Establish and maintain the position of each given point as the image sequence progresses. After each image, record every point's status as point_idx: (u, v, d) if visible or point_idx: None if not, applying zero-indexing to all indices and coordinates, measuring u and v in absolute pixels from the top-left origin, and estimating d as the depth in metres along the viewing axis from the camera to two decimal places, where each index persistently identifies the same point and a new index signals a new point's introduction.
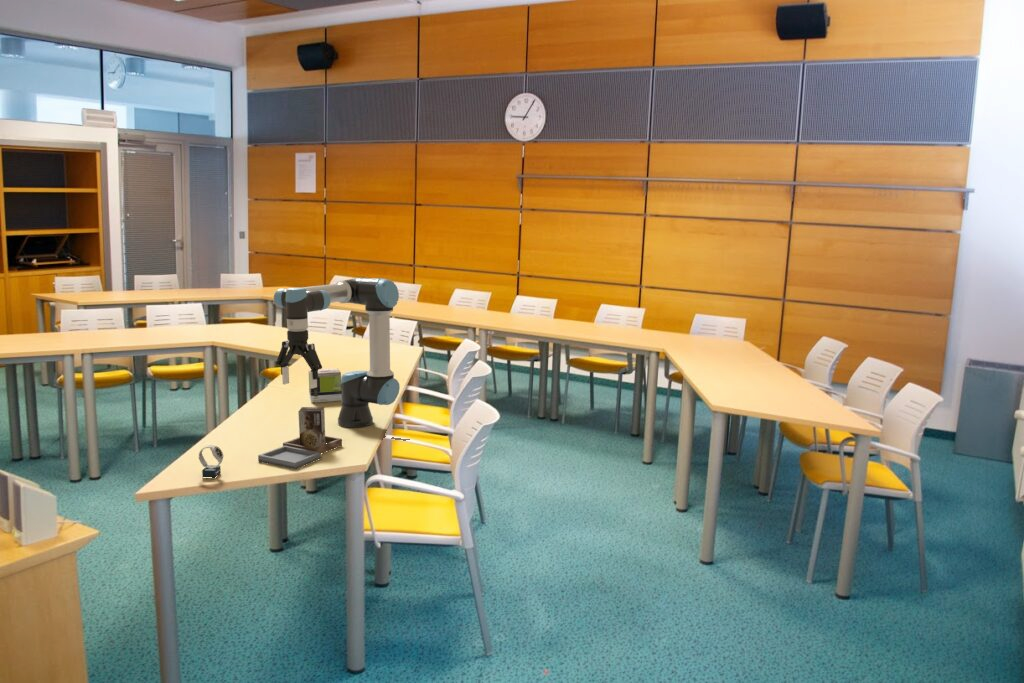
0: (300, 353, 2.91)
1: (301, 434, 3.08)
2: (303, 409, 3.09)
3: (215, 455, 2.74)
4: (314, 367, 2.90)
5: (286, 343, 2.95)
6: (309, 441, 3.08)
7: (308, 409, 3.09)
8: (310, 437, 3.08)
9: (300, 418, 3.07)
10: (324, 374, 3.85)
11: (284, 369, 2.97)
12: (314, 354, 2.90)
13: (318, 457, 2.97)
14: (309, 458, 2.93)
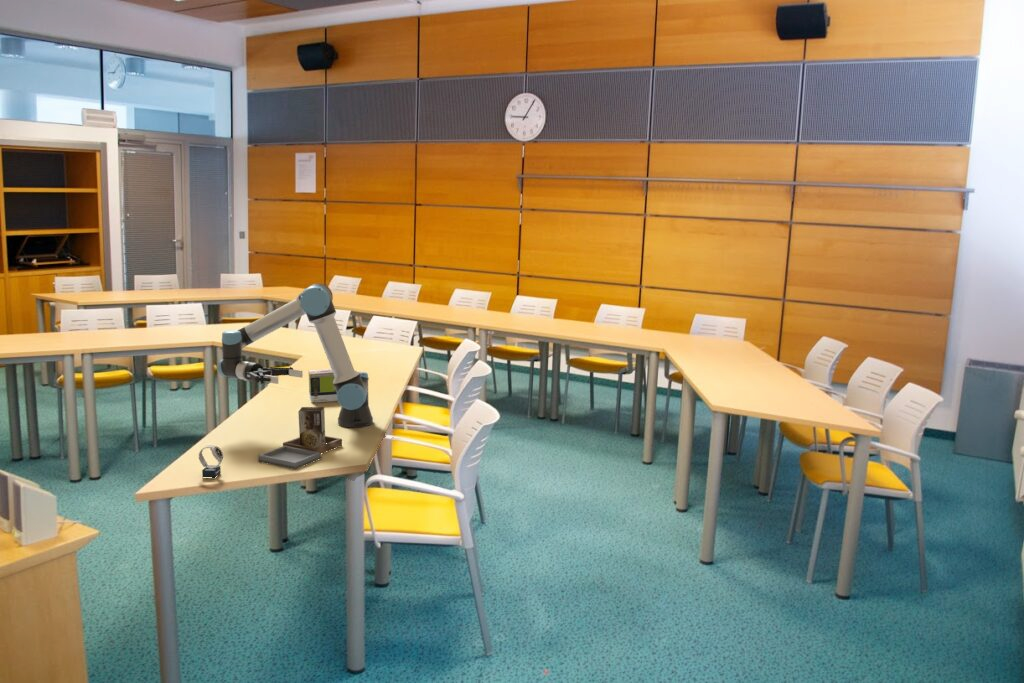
0: None
1: (301, 434, 3.08)
2: (303, 409, 3.09)
3: (215, 455, 2.74)
4: None
5: None
6: (309, 441, 3.08)
7: (308, 409, 3.09)
8: (310, 437, 3.08)
9: (300, 418, 3.07)
10: (324, 374, 3.85)
11: (290, 374, 3.21)
12: (251, 377, 3.11)
13: (318, 457, 2.97)
14: (309, 458, 2.93)
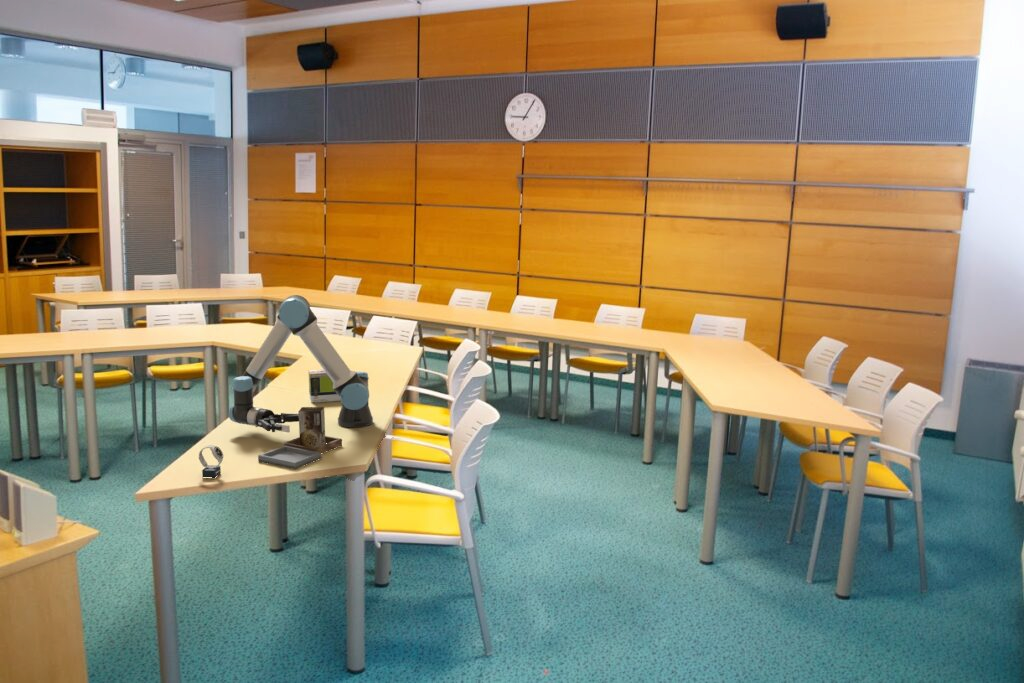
0: None
1: (301, 434, 3.08)
2: (303, 409, 3.09)
3: (215, 455, 2.74)
4: (271, 428, 3.09)
5: None
6: (309, 441, 3.08)
7: (308, 409, 3.09)
8: (310, 437, 3.08)
9: (300, 418, 3.07)
10: (324, 374, 3.85)
11: None
12: (262, 425, 3.12)
13: (318, 457, 2.97)
14: (309, 458, 2.93)
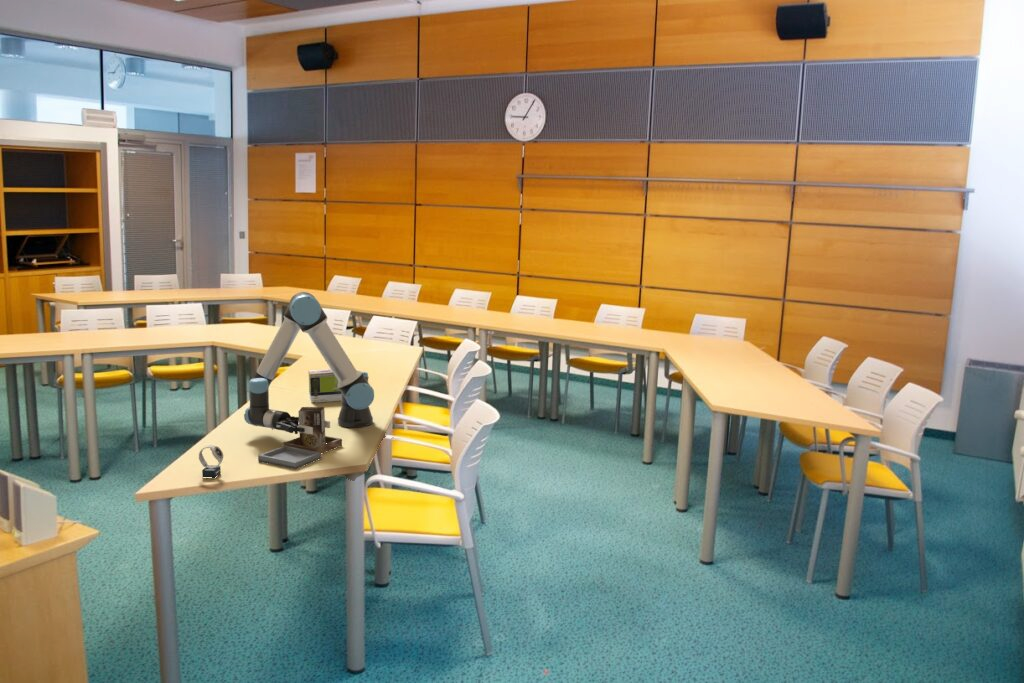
0: None
1: (301, 434, 3.08)
2: (303, 409, 3.09)
3: (215, 455, 2.74)
4: None
5: None
6: (310, 441, 3.08)
7: (308, 409, 3.09)
8: (310, 437, 3.08)
9: (300, 418, 3.07)
10: (324, 374, 3.85)
11: None
12: (282, 427, 3.08)
13: (318, 457, 2.97)
14: (309, 458, 2.93)
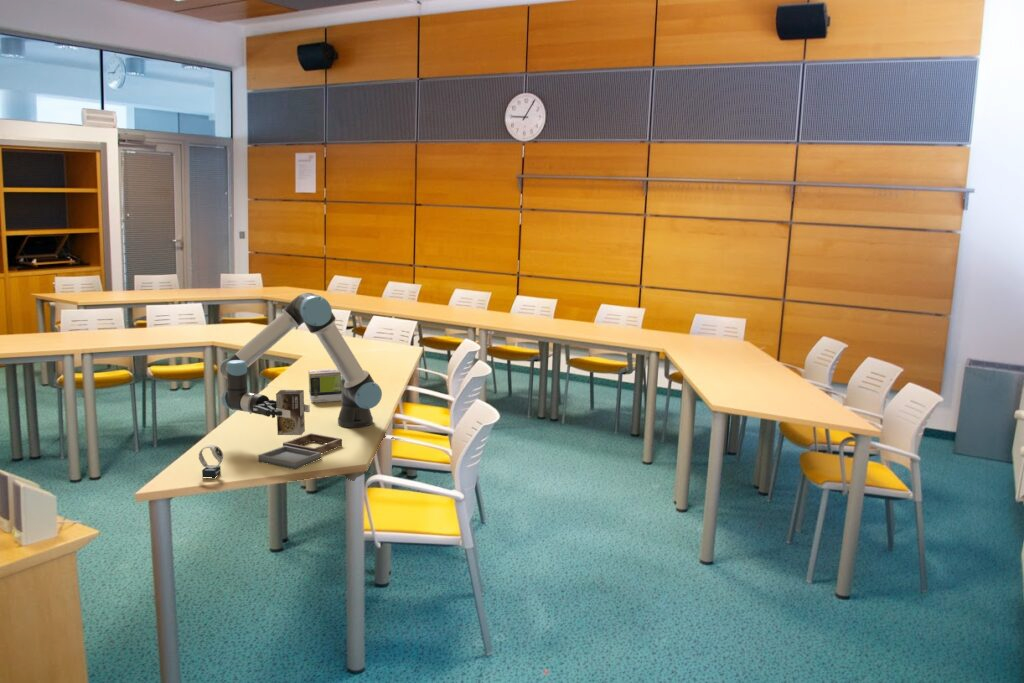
0: None
1: (279, 418, 2.95)
2: (281, 392, 2.96)
3: (215, 455, 2.74)
4: None
5: None
6: (287, 425, 2.95)
7: (286, 392, 2.95)
8: (287, 421, 2.95)
9: (278, 401, 2.94)
10: (324, 374, 3.85)
11: None
12: (259, 411, 2.95)
13: (318, 457, 2.97)
14: (309, 458, 2.93)
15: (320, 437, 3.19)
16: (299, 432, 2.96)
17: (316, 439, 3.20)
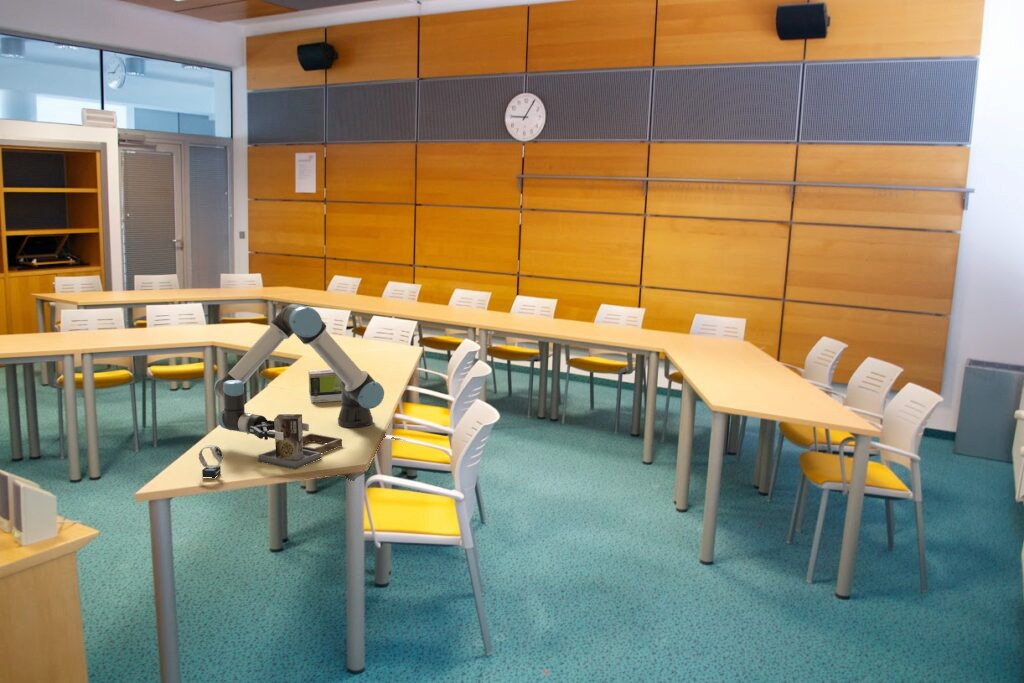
0: None
1: (277, 443, 2.93)
2: (279, 416, 2.93)
3: (215, 455, 2.74)
4: None
5: None
6: (286, 450, 2.93)
7: (284, 416, 2.93)
8: (286, 446, 2.93)
9: (276, 426, 2.91)
10: (324, 374, 3.85)
11: None
12: (254, 432, 2.92)
13: (318, 457, 2.97)
14: (309, 458, 2.93)
15: (320, 437, 3.19)
16: (298, 457, 2.94)
17: (316, 439, 3.20)
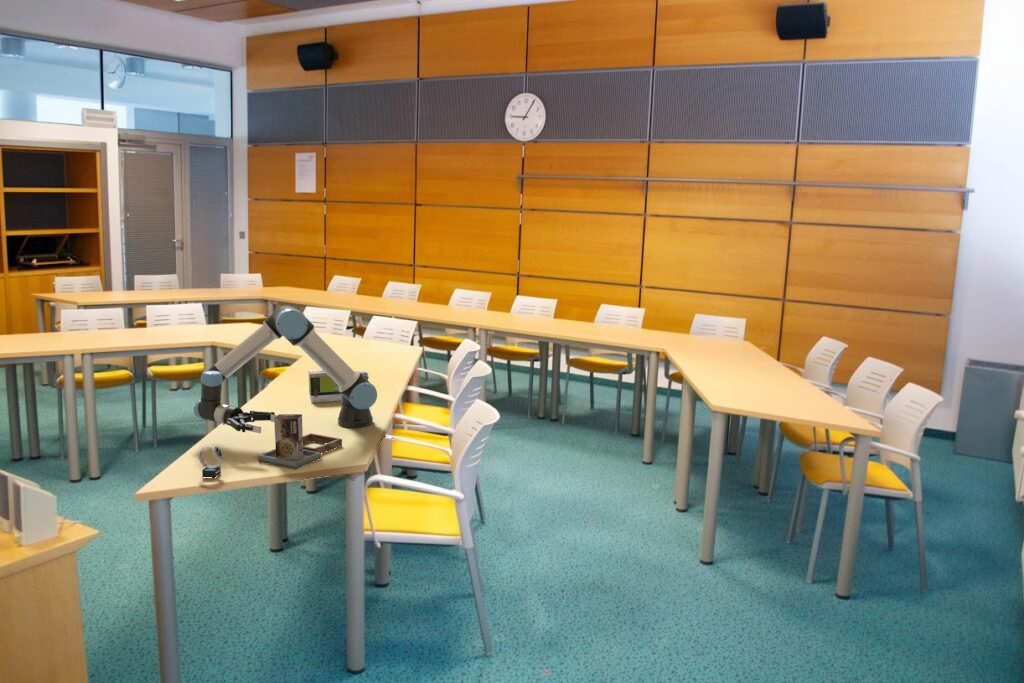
0: None
1: (277, 443, 2.93)
2: (279, 416, 2.93)
3: (215, 455, 2.74)
4: None
5: None
6: (286, 450, 2.93)
7: (284, 416, 2.93)
8: (286, 446, 2.93)
9: (276, 426, 2.91)
10: (324, 374, 3.85)
11: (272, 420, 3.09)
12: (232, 424, 2.98)
13: (318, 457, 2.97)
14: (309, 458, 2.93)
15: (320, 437, 3.19)
16: (298, 457, 2.94)
17: (316, 439, 3.20)
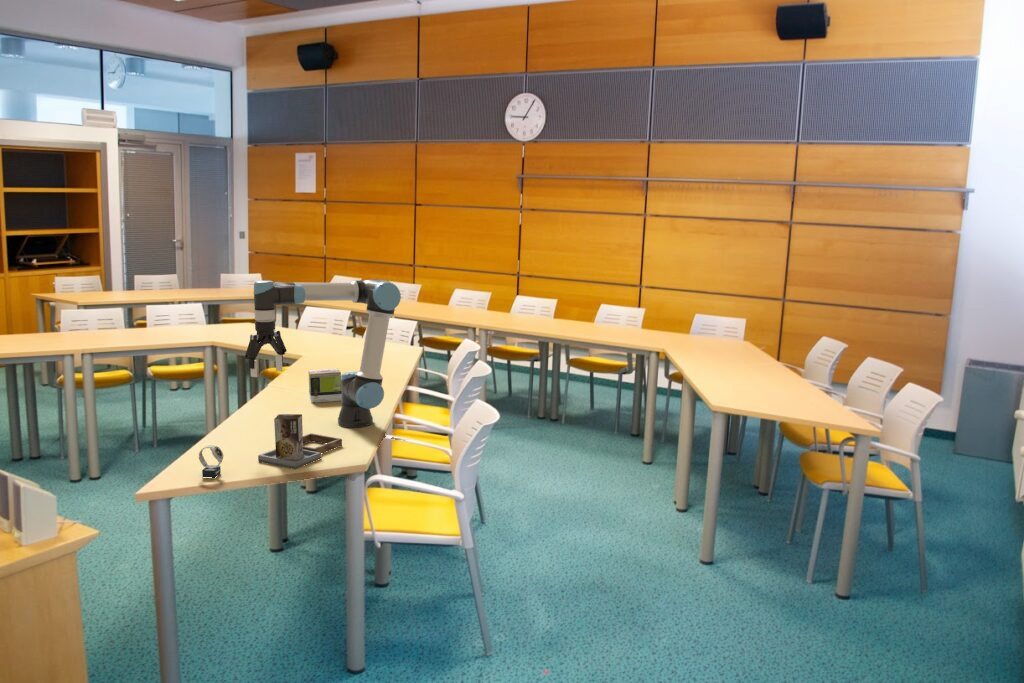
0: None
1: (277, 443, 2.93)
2: (279, 416, 2.93)
3: (215, 455, 2.74)
4: None
5: None
6: (286, 450, 2.93)
7: (284, 416, 2.93)
8: (286, 446, 2.93)
9: (276, 426, 2.91)
10: (324, 374, 3.85)
11: (276, 356, 3.18)
12: (250, 344, 3.04)
13: (318, 457, 2.97)
14: (309, 458, 2.93)
15: (320, 437, 3.19)
16: (298, 457, 2.94)
17: (316, 439, 3.20)
